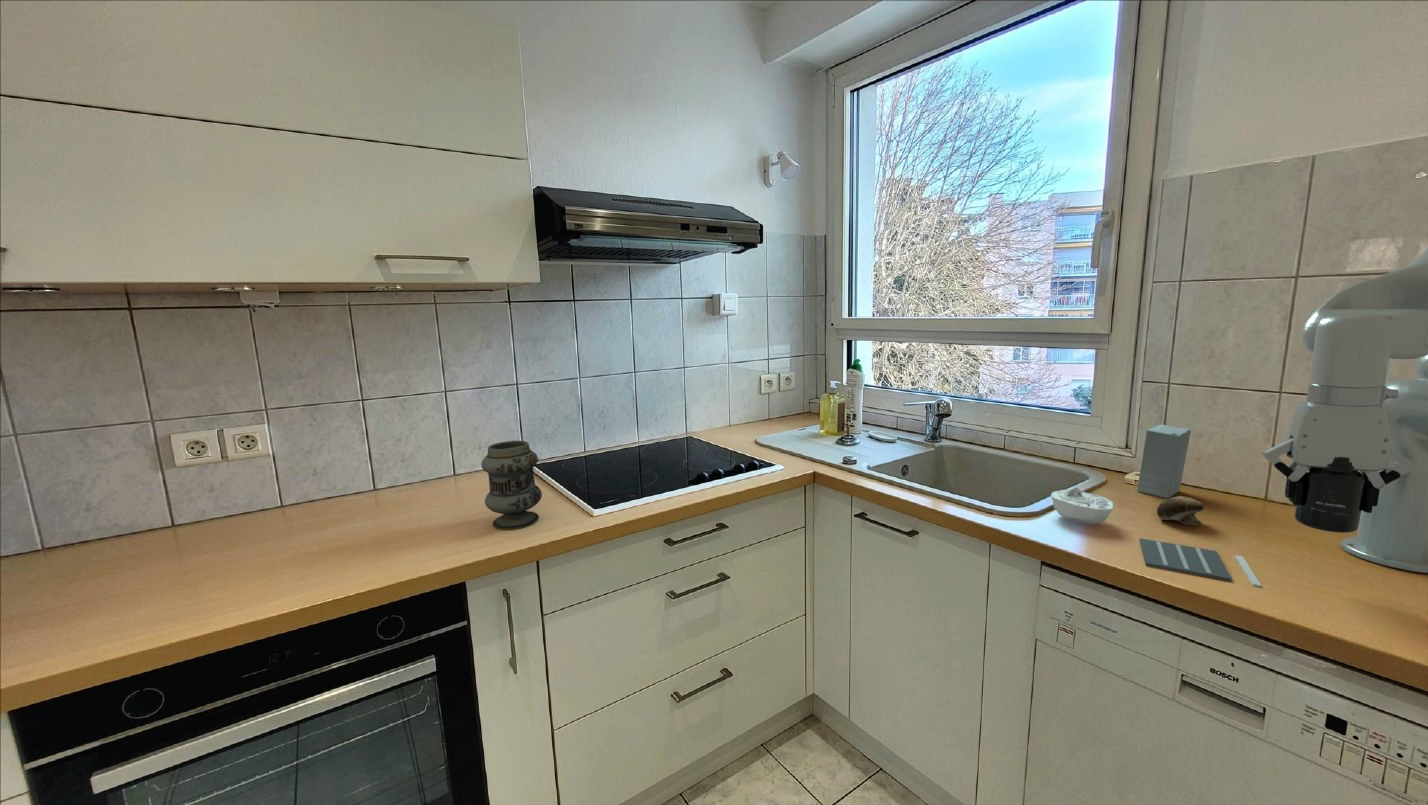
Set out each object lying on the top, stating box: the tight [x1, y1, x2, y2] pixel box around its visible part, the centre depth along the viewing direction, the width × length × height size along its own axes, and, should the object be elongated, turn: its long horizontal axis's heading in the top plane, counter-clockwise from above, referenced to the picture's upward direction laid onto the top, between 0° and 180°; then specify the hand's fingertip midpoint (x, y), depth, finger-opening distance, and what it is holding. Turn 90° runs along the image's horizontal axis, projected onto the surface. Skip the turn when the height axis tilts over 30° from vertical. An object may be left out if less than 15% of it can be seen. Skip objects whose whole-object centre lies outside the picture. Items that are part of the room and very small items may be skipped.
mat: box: [1139, 537, 1233, 582], centre depth 96 cm, size 11×12×1 cm
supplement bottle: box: [1294, 457, 1367, 534], centre depth 85 cm, size 7×7×12 cm
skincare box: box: [1137, 424, 1192, 499], centre depth 129 cm, size 8×7×16 cm
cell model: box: [1050, 486, 1115, 526], centre depth 114 cm, size 10×12×7 cm
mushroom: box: [1156, 495, 1205, 526], centre depth 111 cm, size 8×8×6 cm
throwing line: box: [1234, 554, 1262, 588], centre depth 91 cm, size 1×12×1 cm, turn 146°
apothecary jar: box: [480, 440, 543, 531], centre depth 120 cm, size 12×12×18 cm
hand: (1328, 505), depth 85 cm, fingers closed on supplement bottle, 6 cm apart
